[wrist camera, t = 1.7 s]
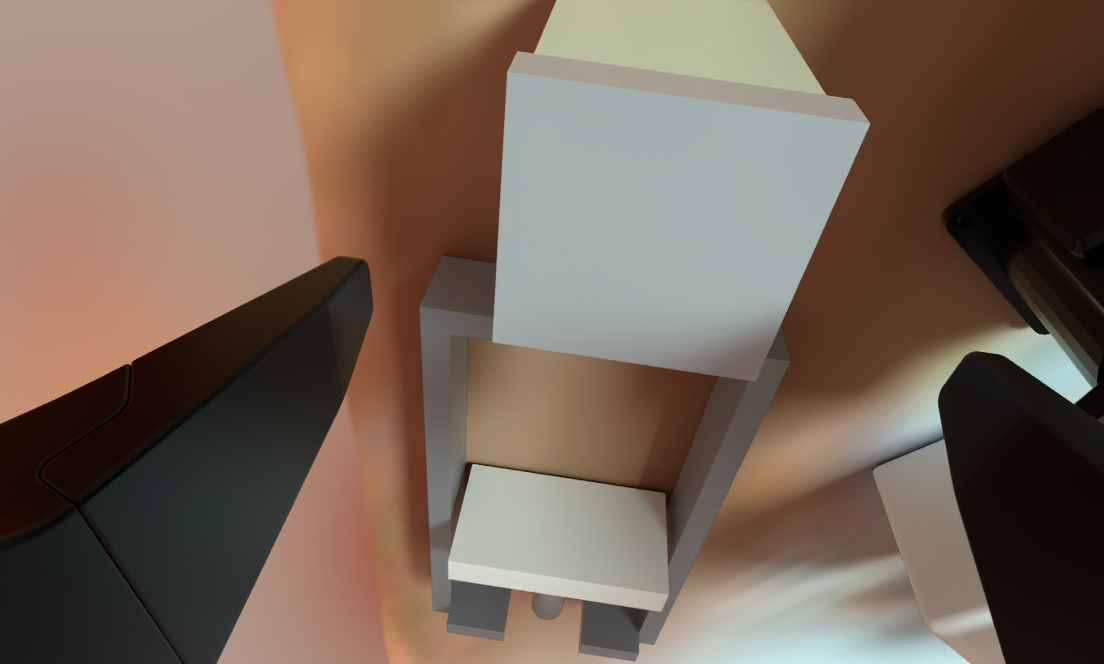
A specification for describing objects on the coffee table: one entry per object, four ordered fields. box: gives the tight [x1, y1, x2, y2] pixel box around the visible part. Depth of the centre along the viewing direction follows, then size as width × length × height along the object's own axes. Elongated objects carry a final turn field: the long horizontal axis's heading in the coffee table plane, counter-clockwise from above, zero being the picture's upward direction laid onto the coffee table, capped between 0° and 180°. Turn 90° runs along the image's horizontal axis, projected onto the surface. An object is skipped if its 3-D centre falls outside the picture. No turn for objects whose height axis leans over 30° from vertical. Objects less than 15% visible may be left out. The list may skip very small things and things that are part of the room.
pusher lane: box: [419, 255, 791, 661], centre depth 28 cm, size 21×12×4 cm, turn 174°
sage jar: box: [492, 0, 870, 382], centre depth 14 cm, size 5×5×9 cm
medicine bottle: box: [873, 439, 1005, 664], centre depth 22 cm, size 7×7×12 cm
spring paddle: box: [448, 464, 669, 620], centre depth 30 cm, size 8×9×5 cm
